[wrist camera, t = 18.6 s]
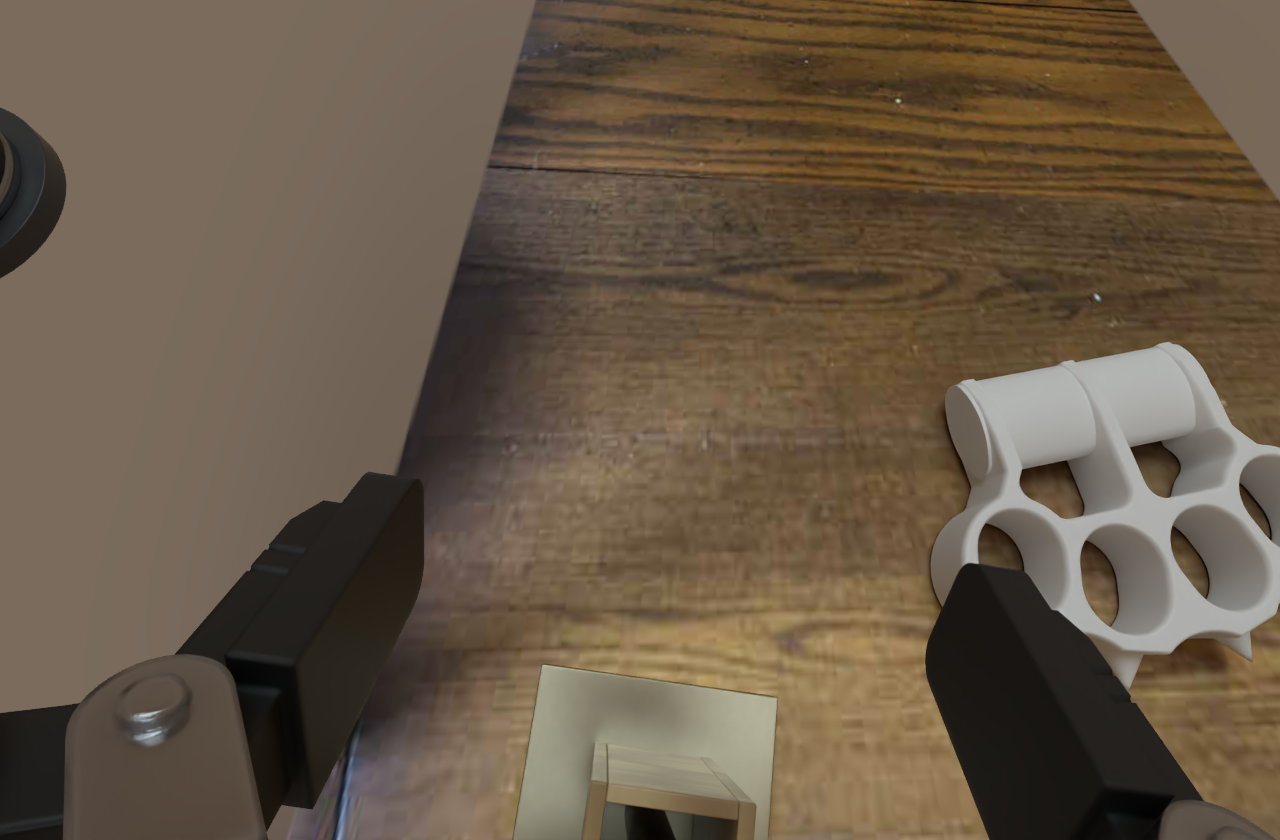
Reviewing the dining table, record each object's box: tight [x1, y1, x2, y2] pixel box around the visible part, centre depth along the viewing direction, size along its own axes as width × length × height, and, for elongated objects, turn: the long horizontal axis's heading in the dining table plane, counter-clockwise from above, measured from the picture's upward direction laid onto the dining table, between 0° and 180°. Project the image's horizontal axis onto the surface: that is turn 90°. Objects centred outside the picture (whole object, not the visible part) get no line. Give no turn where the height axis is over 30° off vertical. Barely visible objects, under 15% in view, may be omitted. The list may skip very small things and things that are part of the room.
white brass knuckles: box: [930, 342, 1280, 692], centre depth 32 cm, size 3×18×15 cm
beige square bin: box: [512, 664, 778, 840], centre depth 25 cm, size 10×10×9 cm
